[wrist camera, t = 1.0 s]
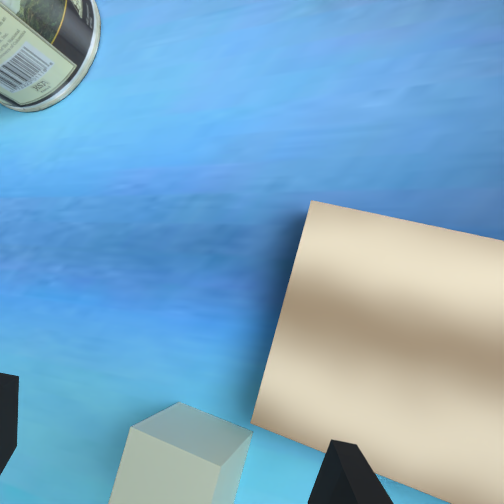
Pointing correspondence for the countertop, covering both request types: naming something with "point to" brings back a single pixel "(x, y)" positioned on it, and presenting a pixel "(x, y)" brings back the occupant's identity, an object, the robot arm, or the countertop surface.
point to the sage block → (181, 459)
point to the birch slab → (394, 351)
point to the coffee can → (45, 50)
